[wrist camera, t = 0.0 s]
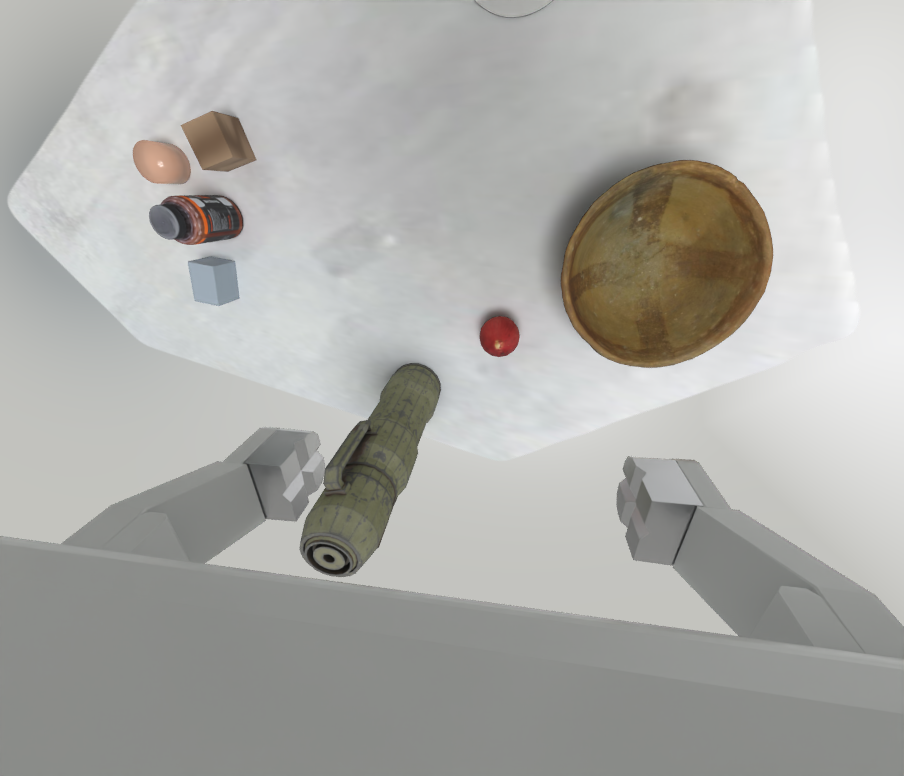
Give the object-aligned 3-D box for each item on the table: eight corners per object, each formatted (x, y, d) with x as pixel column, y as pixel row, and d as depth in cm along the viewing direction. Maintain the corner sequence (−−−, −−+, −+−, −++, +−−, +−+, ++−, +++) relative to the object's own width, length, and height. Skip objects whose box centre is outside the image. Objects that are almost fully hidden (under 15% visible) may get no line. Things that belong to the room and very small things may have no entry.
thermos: (407, 419, 68) (320, 604, 38) (380, 363, 64) (255, 521, 33) (451, 408, 66) (397, 596, 35) (426, 349, 61) (338, 505, 30)
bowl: (738, 145, 43) (795, 133, 34) (717, 330, 53) (757, 357, 44) (546, 188, 48) (554, 187, 39) (559, 351, 58) (568, 379, 49)
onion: (521, 342, 58) (522, 363, 51) (485, 349, 60) (482, 369, 52) (515, 307, 56) (515, 323, 49) (478, 314, 57) (473, 331, 50)
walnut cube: (209, 131, 51) (180, 125, 46) (238, 118, 50) (212, 111, 45) (228, 171, 53) (202, 169, 49) (256, 160, 52) (233, 157, 47)
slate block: (211, 256, 59) (187, 261, 55) (235, 261, 59) (212, 266, 55) (217, 293, 62) (194, 300, 58) (239, 298, 62) (218, 306, 58)
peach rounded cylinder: (152, 144, 53) (126, 140, 49) (183, 143, 52) (159, 139, 49) (165, 184, 55) (141, 183, 52) (195, 183, 54) (173, 183, 51)
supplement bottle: (227, 187, 54) (162, 186, 44) (252, 228, 56) (196, 235, 46) (199, 206, 56) (131, 209, 46) (224, 244, 58) (164, 255, 48)
